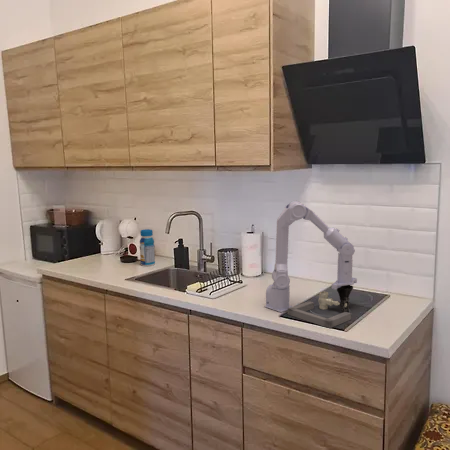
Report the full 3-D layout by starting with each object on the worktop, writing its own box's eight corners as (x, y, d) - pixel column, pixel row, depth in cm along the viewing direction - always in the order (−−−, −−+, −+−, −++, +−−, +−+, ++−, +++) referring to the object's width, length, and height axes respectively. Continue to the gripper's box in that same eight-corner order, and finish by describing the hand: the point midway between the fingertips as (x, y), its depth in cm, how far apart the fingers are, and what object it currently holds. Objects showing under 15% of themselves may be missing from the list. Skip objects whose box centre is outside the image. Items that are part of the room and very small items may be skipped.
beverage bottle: (151, 266, 264) (150, 231, 261) (137, 266, 266) (136, 231, 263) (157, 263, 272) (156, 229, 269) (143, 262, 274) (142, 228, 271)
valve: (315, 309, 190) (342, 315, 183) (315, 293, 189) (343, 299, 182) (322, 305, 195) (349, 311, 188) (323, 289, 194) (350, 295, 187)
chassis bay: (287, 314, 184) (287, 308, 184) (308, 307, 193) (309, 301, 192) (329, 328, 169) (329, 321, 169) (350, 319, 178) (350, 313, 177)
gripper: (342, 275, 182) (341, 309, 184) (363, 269, 191) (362, 301, 193) (327, 272, 187) (326, 305, 189) (348, 266, 196) (347, 297, 198)
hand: (343, 303), depth 191 cm, fingers closed
